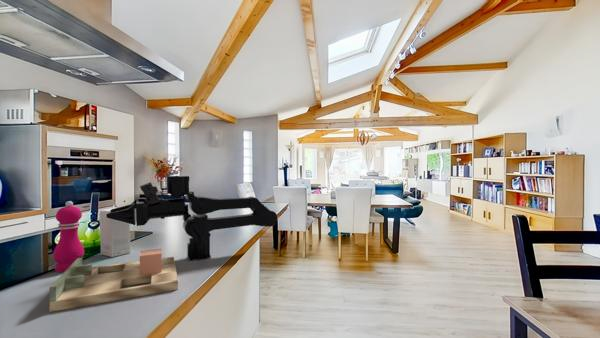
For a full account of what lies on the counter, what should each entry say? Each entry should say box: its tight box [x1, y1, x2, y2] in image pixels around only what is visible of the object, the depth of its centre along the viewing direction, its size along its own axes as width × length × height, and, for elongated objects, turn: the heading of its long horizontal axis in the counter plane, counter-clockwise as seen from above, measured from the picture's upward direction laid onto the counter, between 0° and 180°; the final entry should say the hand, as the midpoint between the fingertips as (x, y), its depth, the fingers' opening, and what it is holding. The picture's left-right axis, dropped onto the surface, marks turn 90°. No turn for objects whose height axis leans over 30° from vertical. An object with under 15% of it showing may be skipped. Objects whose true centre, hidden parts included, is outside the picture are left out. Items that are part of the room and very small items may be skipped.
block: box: [139, 248, 163, 275], centre depth 75 cm, size 5×5×5 cm
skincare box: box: [99, 208, 131, 258], centre depth 98 cm, size 8×7×16 cm
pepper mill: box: [52, 200, 85, 273], centre depth 83 cm, size 7×7×20 cm
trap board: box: [49, 256, 179, 313], centre depth 72 cm, size 24×22×5 cm
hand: (108, 213), depth 82 cm, fingers open, 9 cm apart
